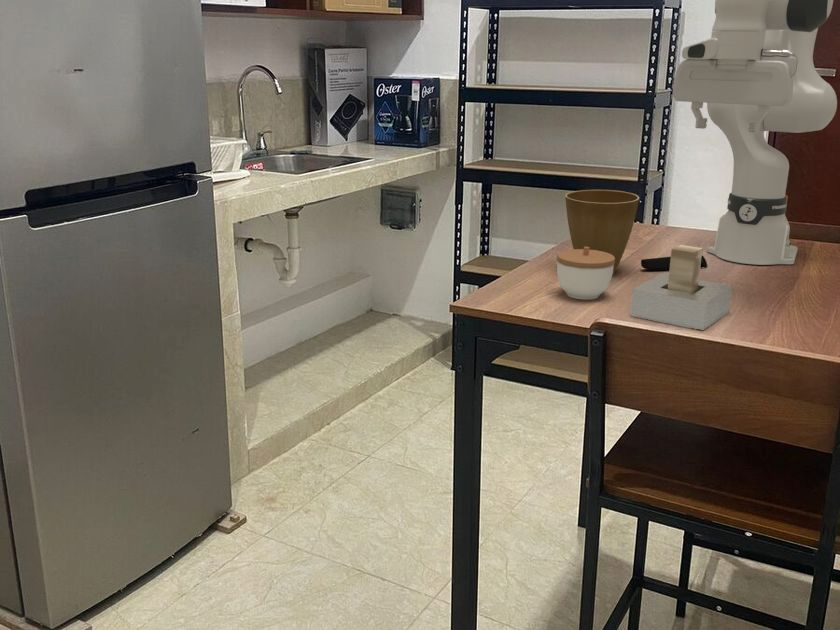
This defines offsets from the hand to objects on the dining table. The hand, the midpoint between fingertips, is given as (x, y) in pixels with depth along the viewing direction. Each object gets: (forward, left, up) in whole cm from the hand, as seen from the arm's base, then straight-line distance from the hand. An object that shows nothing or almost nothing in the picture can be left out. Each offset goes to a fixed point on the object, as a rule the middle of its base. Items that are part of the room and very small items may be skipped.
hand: (726, 130), depth 151 cm
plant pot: (-4, -25, -31) cm, 40 cm away
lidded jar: (+14, -19, -31) cm, 39 cm away
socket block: (+14, 0, -31) cm, 34 cm away
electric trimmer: (-16, -13, -32) cm, 38 cm away
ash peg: (+14, 0, -31) cm, 34 cm away
